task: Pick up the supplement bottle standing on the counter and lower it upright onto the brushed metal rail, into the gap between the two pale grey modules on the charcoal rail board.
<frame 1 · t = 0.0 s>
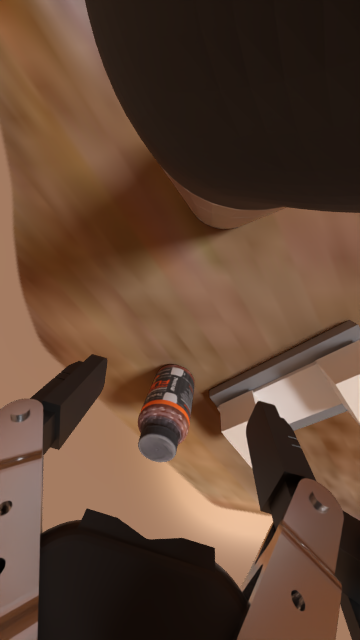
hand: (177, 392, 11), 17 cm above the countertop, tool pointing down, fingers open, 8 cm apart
supplement bottle: (175, 378, 32), on the countertop
rail board: (291, 387, 30), on the countertop
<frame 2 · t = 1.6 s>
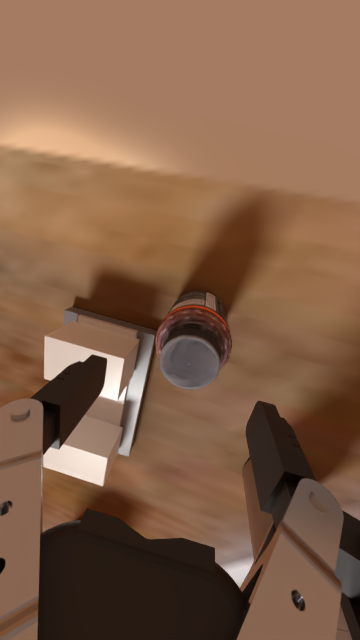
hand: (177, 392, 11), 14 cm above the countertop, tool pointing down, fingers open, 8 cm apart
supplement bottle: (198, 313, 24), on the countertop
rail board: (105, 384, 29), on the countertop
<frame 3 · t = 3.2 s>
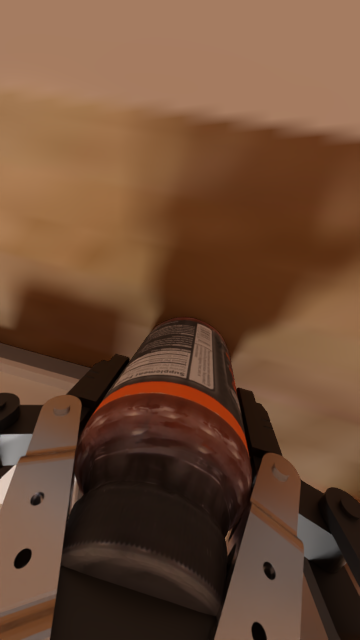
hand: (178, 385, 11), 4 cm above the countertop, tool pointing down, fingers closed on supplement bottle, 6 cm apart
supplement bottle: (186, 352, 15), on the countertop, touching gripper
rail board: (53, 448, 20), on the countertop
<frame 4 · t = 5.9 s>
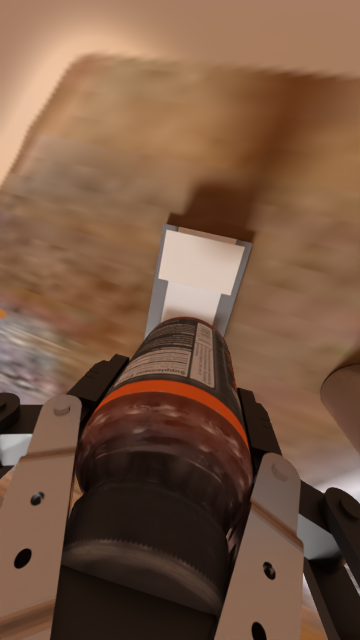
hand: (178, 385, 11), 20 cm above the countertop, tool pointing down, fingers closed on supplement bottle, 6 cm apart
supplement bottle: (186, 352, 15), point 16 cm above the countertop, touching gripper
rail board: (190, 307, 30), on the countertop
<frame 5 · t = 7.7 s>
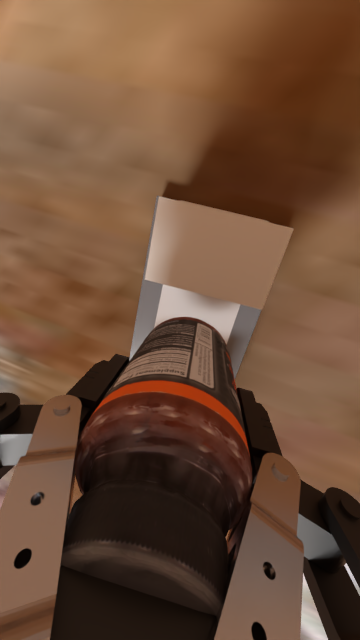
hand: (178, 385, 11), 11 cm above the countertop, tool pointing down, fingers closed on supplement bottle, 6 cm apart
supplement bottle: (186, 352, 15), point 7 cm above the countertop, touching gripper
rail board: (193, 320, 22), on the countertop
when the fingers open (7 cm above the countertop, at t = 8.9 s): supplement bottle drops 2 cm, resting on rail board.
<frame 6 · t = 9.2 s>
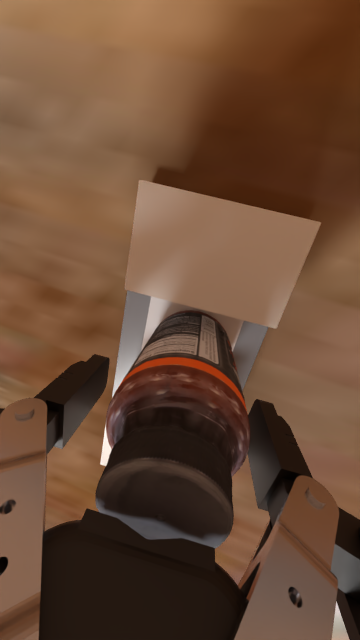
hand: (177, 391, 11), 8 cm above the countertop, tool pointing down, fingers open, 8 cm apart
supplement bottle: (191, 342, 17), point 2 cm above the countertop, touching rail board
rail board: (189, 333, 18), on the countertop
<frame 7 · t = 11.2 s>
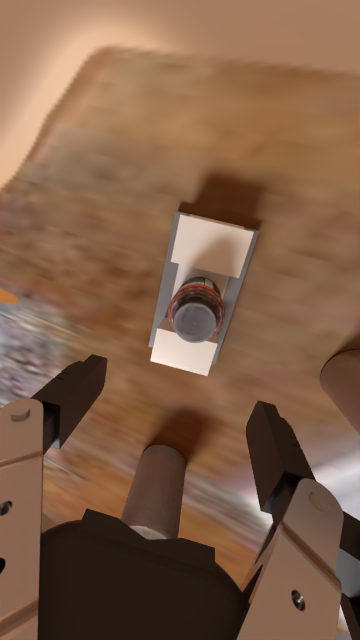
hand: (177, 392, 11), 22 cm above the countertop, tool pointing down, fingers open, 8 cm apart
supplement bottle: (199, 296, 30), point 2 cm above the countertop, touching rail board
pillar candle: (162, 460, 45), on the countertop
rail board: (197, 293, 32), on the countertop
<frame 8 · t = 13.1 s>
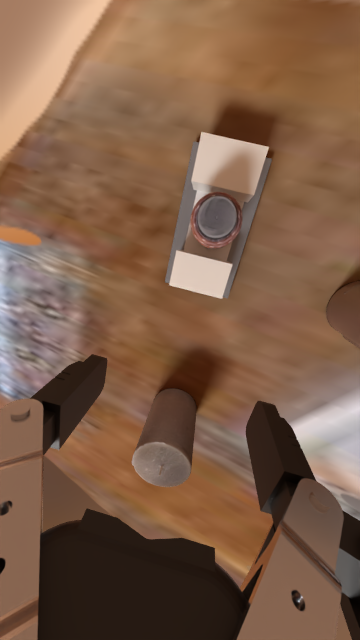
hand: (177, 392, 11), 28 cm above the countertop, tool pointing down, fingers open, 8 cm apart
supplement bottle: (214, 227, 32), point 2 cm above the countertop, touching rail board
pillar candle: (174, 405, 47), on the countertop
rail board: (212, 228, 34), on the countertop
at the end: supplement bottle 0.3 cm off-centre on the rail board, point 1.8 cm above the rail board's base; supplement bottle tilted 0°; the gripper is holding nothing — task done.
